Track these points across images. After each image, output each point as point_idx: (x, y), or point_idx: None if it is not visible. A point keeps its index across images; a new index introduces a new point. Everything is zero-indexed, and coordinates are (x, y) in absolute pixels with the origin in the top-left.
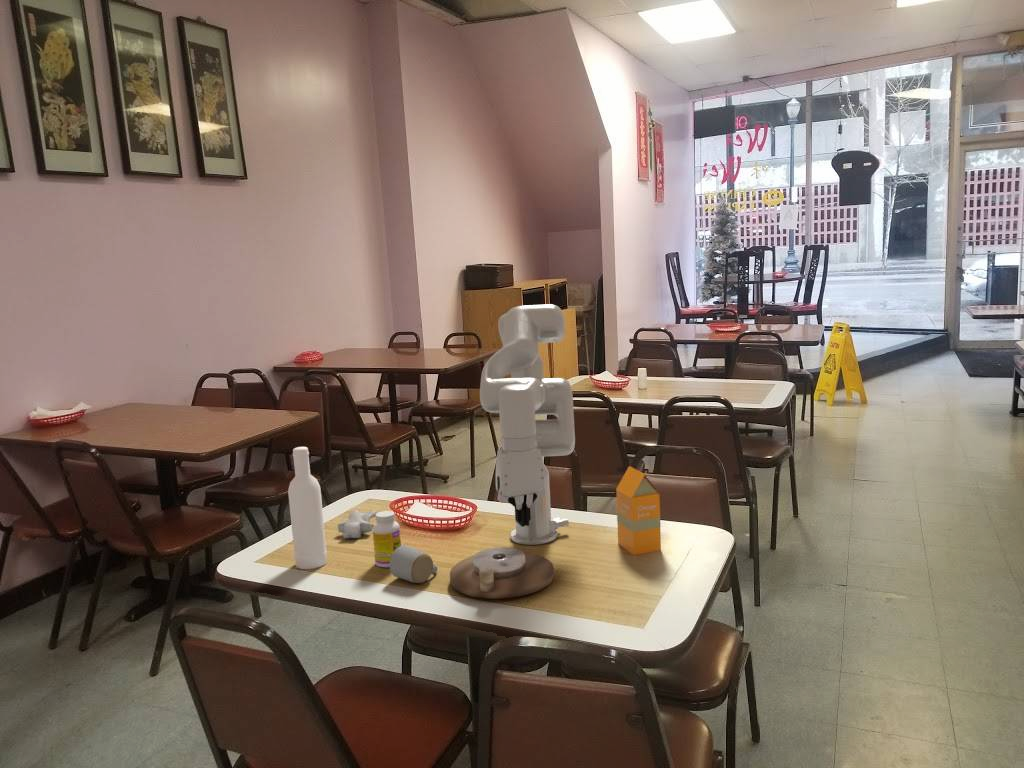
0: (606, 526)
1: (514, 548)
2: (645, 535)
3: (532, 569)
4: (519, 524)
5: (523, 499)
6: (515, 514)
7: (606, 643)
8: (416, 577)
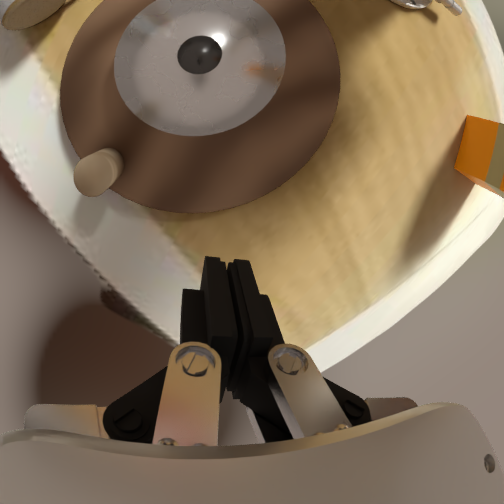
0: (484, 56)
1: (279, 31)
2: (485, 185)
3: (270, 120)
4: (201, 282)
5: (273, 392)
6: (182, 317)
7: None
8: (21, 28)
